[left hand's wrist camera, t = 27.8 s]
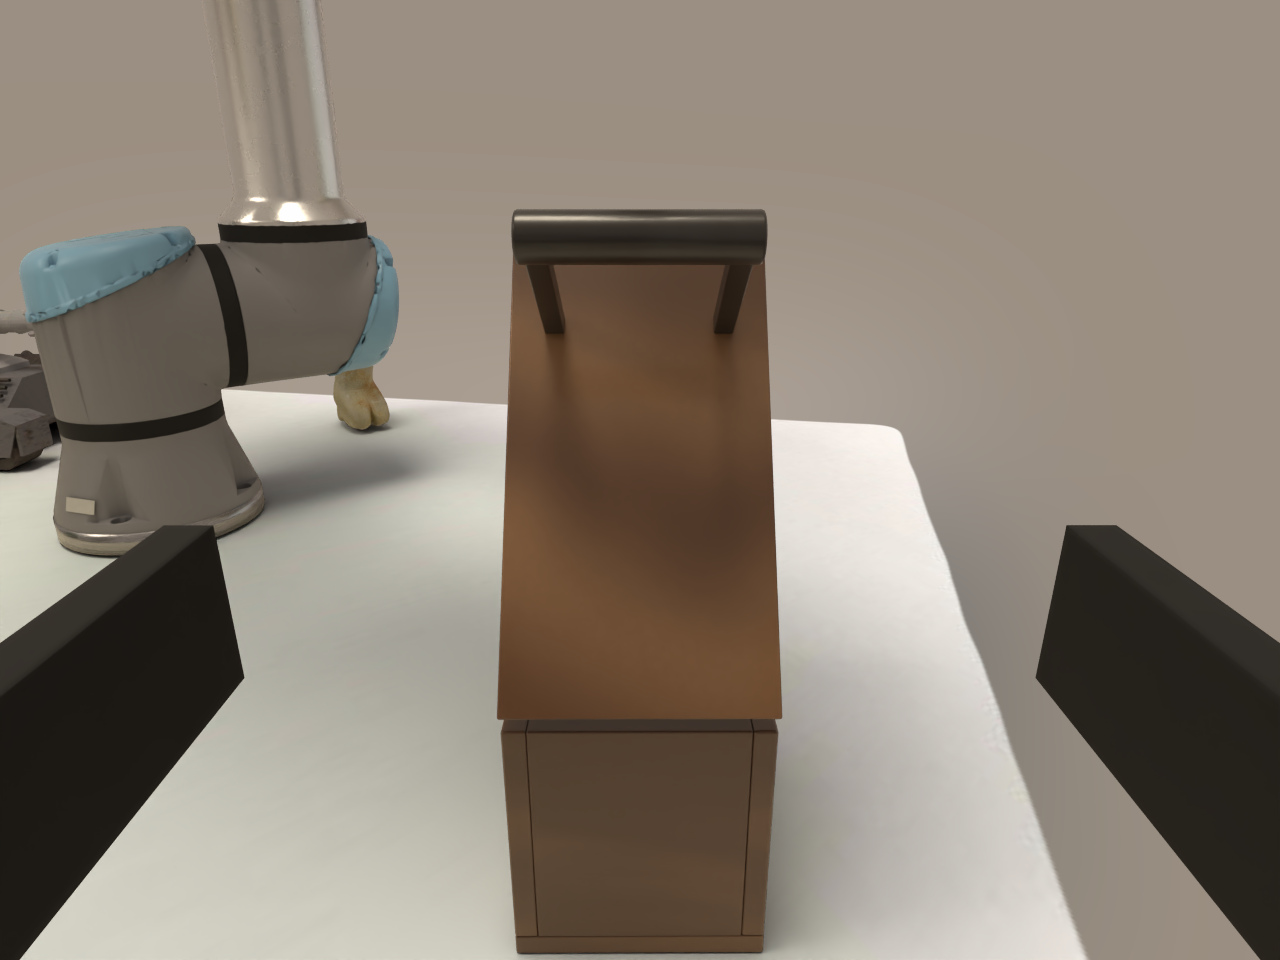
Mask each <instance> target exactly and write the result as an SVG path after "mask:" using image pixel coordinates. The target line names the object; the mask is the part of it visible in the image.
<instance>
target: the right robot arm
mask: <svg viewBox="0 0 1280 960" xmlns="http://www.w3.org/2000/svg"><path fill="white" fill-rule="evenodd" d="M202 6H203V12H204V18H205V24H206V30H207V36H208V42H209V48H210V54H211V60H212V66H213V73H214V79H215V85H216V91H217V97H218V103H219V109H220V115H221V121H222V127H223V133H224V139H225V146H226V152H227V158H228V164H229V170H230V176H231V182H232V188H233V194H234V196H233V198H232V201H231V203H230V204H229V205H228V206H227V208H226V209H225V210H224V211H223V212H222V214H221V215H220V216H219V217H218V227H219V233H220V238H221V240H220V243H218V244H199V245H194V244H195V243H196V242H195V238H194V237H193V236H192V235H191V233H190V231H189V230H188V229H187V228H186V227H182V226H172V227H161V228H152V229H140V230H132V231H124V232H117V233H111V234H104V235H97V236H92V237H86V238H80V239H75V240H69V241H64V242H59V243H55V244H50V245H47V246H43V247H40V248H37V249H35V250H33V251H31V252H29V253H28V254H27V255H26V256H25V257H24V258H23V260H22V262H21V264H20V270H19V272H20V279H21V284H22V289H23V294H24V299H25V304H26V309H27V311H26V312H25V318H26V321H27V322H31V323H32V327H33V331H34V335H35V339H36V342H37V347H38V351H39V355H40V359H41V363H42V367H43V371H44V375H45V379H46V383H47V387H48V391H49V395H50V399H51V403H52V407H53V411H54V415H55V418H56V421H57V425H58V429H59V433H60V437H61V442H62V451H61V458H60V466H59V474H58V482H57V490H56V497H55V505H54V516H53V520H54V524H55V528H56V531H57V535H58V538H59V541H60V543H61V544H62V545H63V546H65V547H66V548H68V549H71V550H73V551H77V552H81V553H86V554H94V555H123V554H125V553H126V552H127V551H129V550H130V549H132V548H133V547H134V546H136V545H137V544H138V543H140V542H141V541H143V540H144V539H145V538H147V537H148V536H150V535H151V534H152V533H154V532H155V531H156V530H158V529H159V528H161V527H162V526H163V525H213V526H214V531H215V536H216V537H218V536H221V535H223V534H226V533H228V532H230V531H233V530H235V529H237V528H239V527H241V526H242V525H244V524H246V523H248V522H249V521H251V520H252V519H253V518H255V517H256V516H257V515H258V514H259V513H260V512H261V511H262V509H263V507H264V504H265V501H264V495H263V489H262V484H261V481H260V479H259V477H258V475H257V474H256V472H255V470H254V468H253V467H252V465H251V463H250V461H249V460H248V458H247V456H246V455H245V453H244V451H243V449H242V448H241V446H240V444H239V443H238V441H237V439H236V437H235V436H234V434H233V432H232V430H231V429H230V427H229V425H228V423H227V420H226V417H225V412H224V406H223V401H222V395H221V389H224V388H228V387H235V386H243V385H250V384H256V383H263V382H271V381H279V380H287V379H294V378H302V377H310V376H318V375H325V374H327V375H329V376H336V375H339V374H341V373H342V372H345V371H351V370H356V369H362V368H367V367H370V366H373V365H375V364H377V363H378V362H379V361H381V360H382V359H383V357H384V356H385V355H386V353H387V352H388V349H389V347H390V346H391V344H392V342H393V339H394V335H395V332H396V327H397V321H398V312H399V289H398V279H397V273H396V270H395V268H393V258H392V255H391V253H390V251H389V249H388V247H387V246H386V245H385V244H384V242H383V241H381V240H380V239H377V238H375V237H373V236H371V235H367V226H366V219H365V216H364V215H363V214H362V213H361V212H359V211H358V210H357V209H356V208H355V207H354V206H353V205H352V204H351V203H349V202H348V200H347V198H346V197H345V195H344V188H343V180H342V171H341V163H340V154H339V146H338V137H337V129H336V120H335V112H334V103H333V95H332V87H331V78H330V70H329V61H328V53H327V44H326V36H325V27H324V19H323V10H322V2H321V0H202Z"/></svg>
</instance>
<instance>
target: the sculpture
mask: <svg viewBox="0 0 1280 960" xmlns="http://www.w3.org/2000/svg"><path fill="white" fill-rule="evenodd" d="M372 373H373V366H370V367H367V368H362V369H356V370H351V371H345V372H342V373H341V374H339V375H336V376H335V383H334V393H333V394H334V401H335V403H336V405H337V413H338V418H339V420H341V421H345V422H346V423H347V424H348V425H349V426H350V427H352V428H356V429H366V428H368V427H369V426H370V425H375V426H381V425H383V424H385V423H387V422H388V420H389V410H388V406H387V403H386V401H385V399H384V397H383V396H382V394H381V392H380V391H379V389H378V388H377V386H376V385H375V383H374V381H373V377H372Z"/></svg>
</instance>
